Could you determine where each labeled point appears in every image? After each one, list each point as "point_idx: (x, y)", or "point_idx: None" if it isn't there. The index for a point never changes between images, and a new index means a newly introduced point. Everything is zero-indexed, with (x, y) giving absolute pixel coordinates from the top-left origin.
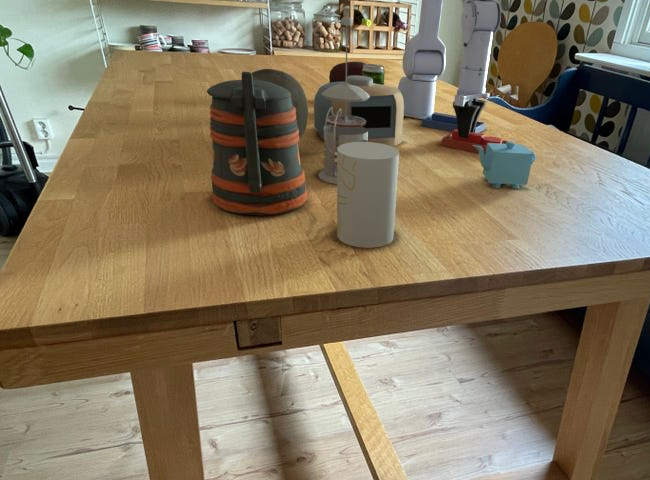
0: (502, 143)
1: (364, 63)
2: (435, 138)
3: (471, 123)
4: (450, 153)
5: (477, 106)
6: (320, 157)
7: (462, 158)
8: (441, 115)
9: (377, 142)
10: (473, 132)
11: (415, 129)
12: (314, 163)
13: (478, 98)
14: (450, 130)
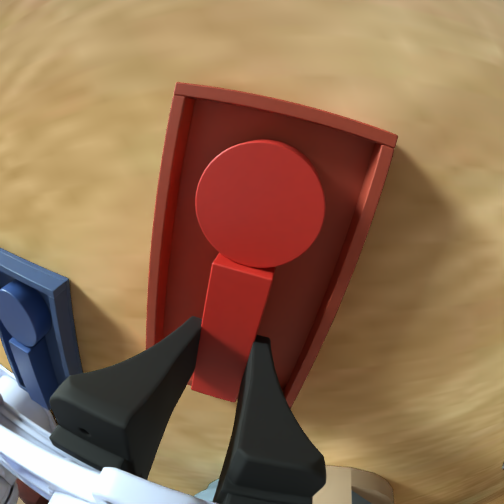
0: (183, 139)
1: (25, 502)
2: (197, 402)
3: (266, 383)
4: (394, 356)
5: (282, 469)
6: (446, 496)
7: (452, 310)
8: (42, 392)
9: (385, 490)
10: (204, 322)
11: None
12: (475, 488)
13: (69, 442)
14: (78, 355)
